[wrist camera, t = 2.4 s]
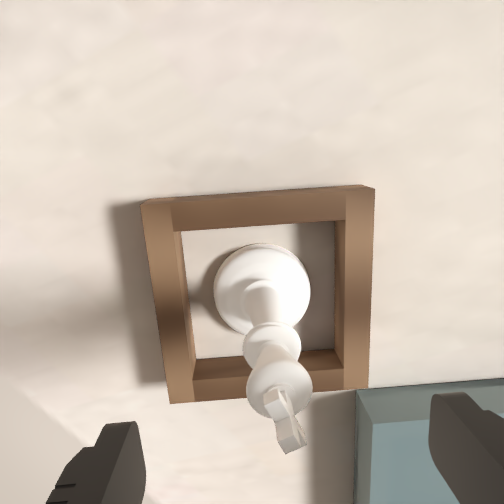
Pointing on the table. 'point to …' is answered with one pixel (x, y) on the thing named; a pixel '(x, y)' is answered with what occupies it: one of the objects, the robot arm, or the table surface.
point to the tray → (406, 441)
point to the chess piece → (269, 331)
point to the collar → (258, 214)
